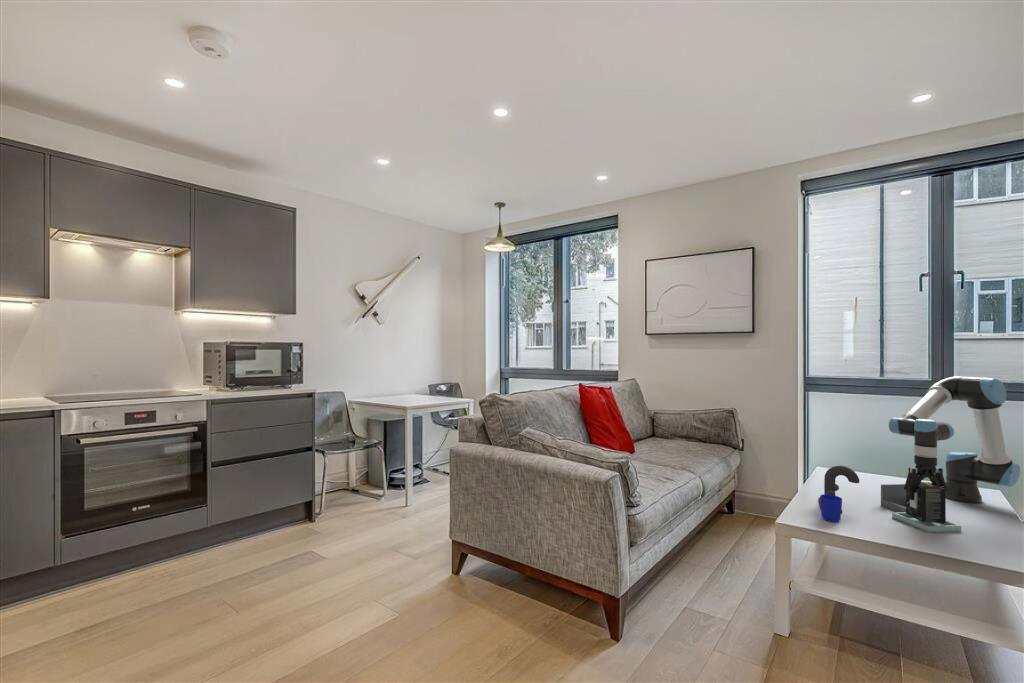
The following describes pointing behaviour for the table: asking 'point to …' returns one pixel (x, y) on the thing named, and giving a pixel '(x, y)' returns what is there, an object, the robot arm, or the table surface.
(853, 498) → the table surface
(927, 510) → the dark grey box
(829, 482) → the faucet
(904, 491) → the bay
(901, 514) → the tray
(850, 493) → the table surface
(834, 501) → the mug
